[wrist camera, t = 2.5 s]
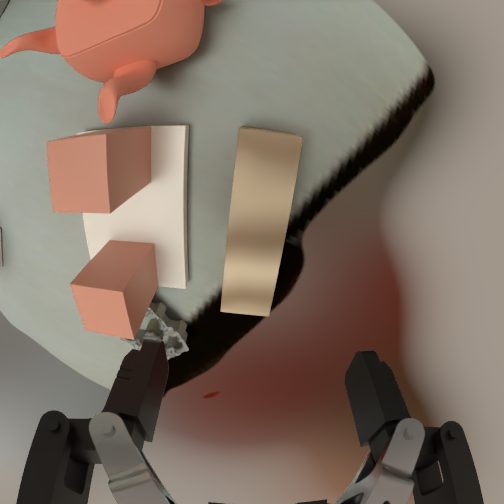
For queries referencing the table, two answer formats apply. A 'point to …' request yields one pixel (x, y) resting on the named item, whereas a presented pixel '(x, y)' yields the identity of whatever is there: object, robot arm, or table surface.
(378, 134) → the table surface
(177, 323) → the egg carton
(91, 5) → the teapot
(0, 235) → the milk carton
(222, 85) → the table surface
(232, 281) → the oak beam
